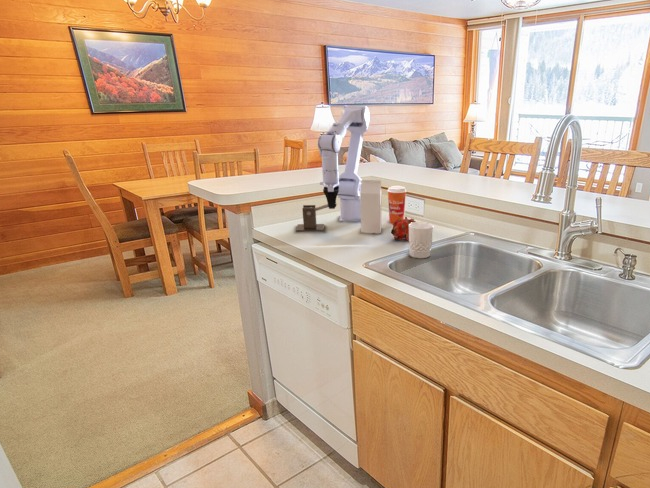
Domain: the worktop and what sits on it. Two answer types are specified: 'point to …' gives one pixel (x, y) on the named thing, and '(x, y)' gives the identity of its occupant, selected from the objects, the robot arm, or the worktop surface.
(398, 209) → the paper cup
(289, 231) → the worktop surface
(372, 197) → the milk carton
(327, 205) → the faucet lever
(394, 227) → the dragon fruit
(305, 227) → the faucet bracket
